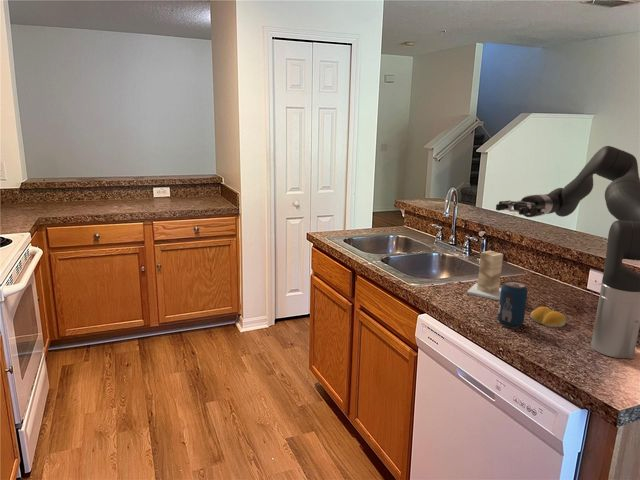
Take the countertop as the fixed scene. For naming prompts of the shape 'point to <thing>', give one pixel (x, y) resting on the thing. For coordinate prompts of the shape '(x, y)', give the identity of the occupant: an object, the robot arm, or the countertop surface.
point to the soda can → (512, 304)
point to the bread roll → (548, 317)
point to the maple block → (490, 271)
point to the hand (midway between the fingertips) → (508, 209)
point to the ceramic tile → (484, 293)
